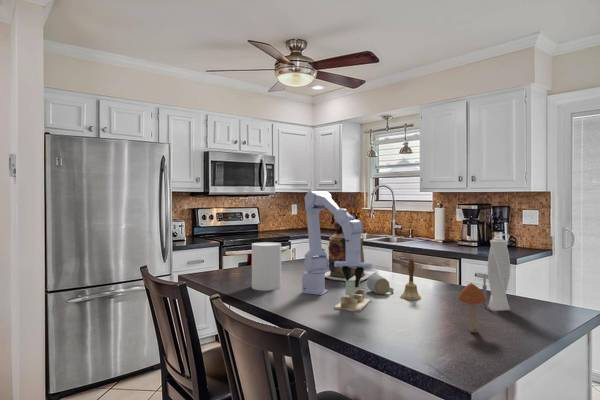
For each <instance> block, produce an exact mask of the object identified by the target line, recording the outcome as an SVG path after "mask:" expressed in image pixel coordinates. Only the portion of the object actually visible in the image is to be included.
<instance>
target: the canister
mask: <svg viewBox="0 0 600 400" xmlns="http://www.w3.org/2000/svg"><path fill="white" fill-rule="evenodd" d="M281 288H282V243H281V242H273V241H270V242H269V241H263V242H262V241H261V242H254V243H253V242H252V243H251V289H253V290H255V291H256V290H257V291H268V292H269V291H275V290H279V289H281Z"/></svg>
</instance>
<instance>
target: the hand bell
mask: <svg viewBox="0 0 600 400" xmlns="http://www.w3.org/2000/svg"><path fill="white" fill-rule="evenodd" d="M414 261H415V260H414V259H413V258H409V261H408V265H407V269H408V270H407V271H408V273H409V274H408V277H409V278H408V282H407V283H405V286H404V290H403V293H402V294H400V298H401V299H404V300H408V301H417V300H422V296H421V295H420V294H419V292H418V287H417V284H416V283H414V273H415V268H416V266H415V262H414Z"/></svg>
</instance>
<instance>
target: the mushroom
mask: <svg viewBox="0 0 600 400" xmlns="http://www.w3.org/2000/svg"><path fill="white" fill-rule="evenodd" d="M457 299H458V300H459V301H460V302H461V303H465V304H468V305H467V306H468V315H469V316H468V329H469V332H470V333H478V332H479V322H478V316H477V307H476V306H477V305H480V304H482V303H484V302H485V301H486V299H485V296H484V294H483V290H481V289H480V288H479V287H478V286H477V285H475V284H474V283H472V282H470V283H469V284H467V285H465V286H464V288H463V289H462V290H461V291H460V293H459V295H458V298H457Z"/></svg>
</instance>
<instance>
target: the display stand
mask: <svg viewBox="0 0 600 400" xmlns="http://www.w3.org/2000/svg"><path fill="white" fill-rule="evenodd" d="M371 300H372V298H371V299H370V298H365V289H362V288H360V289H359V290H358V291H357V292H355V293H354V294H353V295H352V296H351V295H348V296H340V302H338V303H337V304H336V305H334V306H333V309H334V310H341V311H348V310H349V311H348V312H357V311H358V312H360V313H361V312H362V311H363V310H364V309H365V308H366V307H367V306H368V305H369V304H370V303H371V302H372V301H371ZM367 304H368V305H367ZM366 305H367V306H366ZM365 306H366V307H365Z"/></svg>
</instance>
